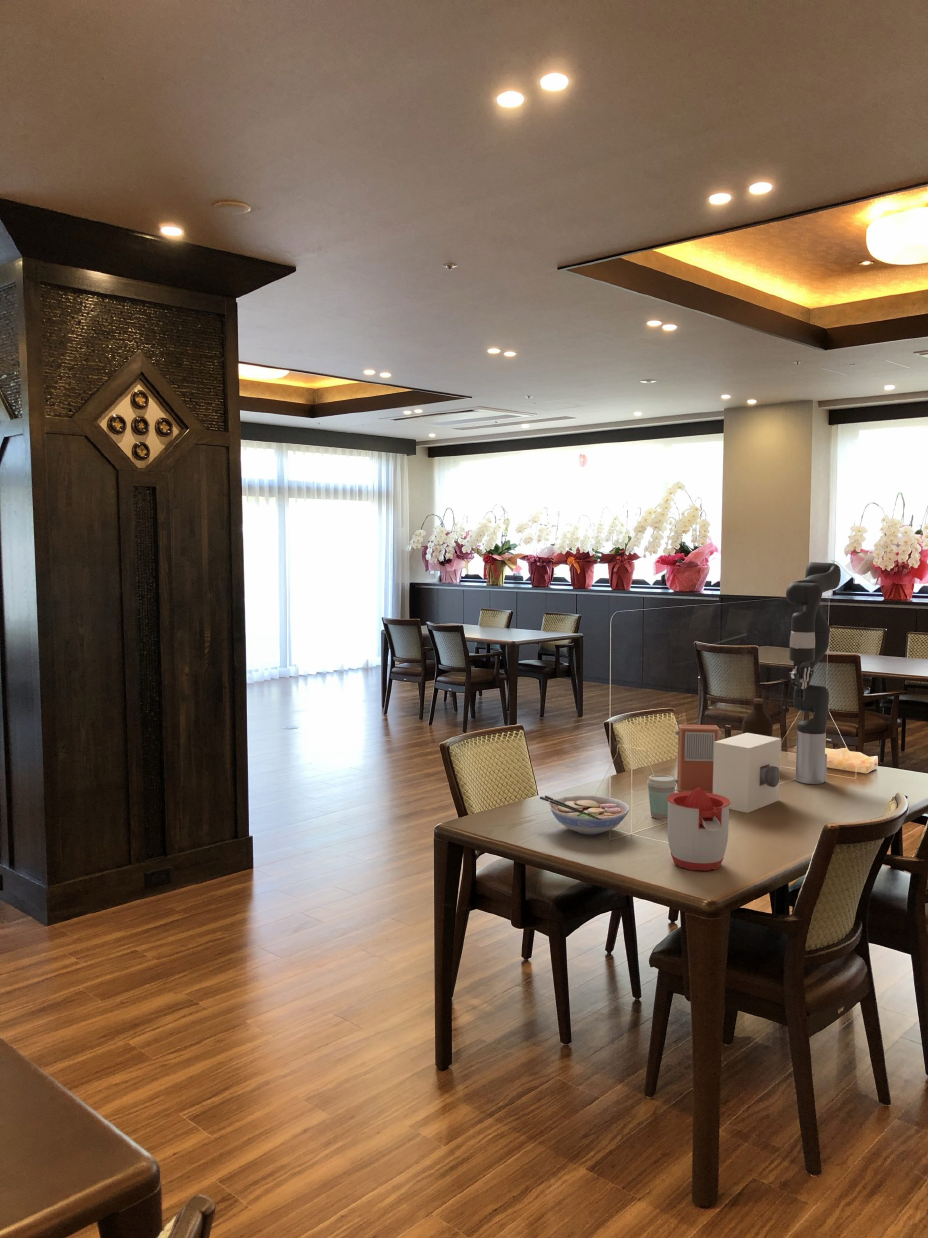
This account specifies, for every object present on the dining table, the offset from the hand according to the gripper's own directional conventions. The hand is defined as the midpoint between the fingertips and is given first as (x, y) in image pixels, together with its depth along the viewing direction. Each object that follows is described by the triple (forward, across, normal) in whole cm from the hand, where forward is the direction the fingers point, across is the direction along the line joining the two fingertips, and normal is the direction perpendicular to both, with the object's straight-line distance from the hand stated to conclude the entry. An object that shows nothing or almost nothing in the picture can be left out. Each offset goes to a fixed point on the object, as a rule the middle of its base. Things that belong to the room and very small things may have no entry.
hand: (800, 700), depth 298 cm
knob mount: (+32, +16, -9) cm, 37 cm away
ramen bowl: (+32, +75, -25) cm, 85 cm away
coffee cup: (+32, +48, -19) cm, 61 cm away
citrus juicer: (+32, +77, +12) cm, 84 cm away
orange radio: (+32, +14, -28) cm, 45 cm away
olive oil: (+32, -29, -30) cm, 53 cm away
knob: (+25, +16, -4) cm, 30 cm away
